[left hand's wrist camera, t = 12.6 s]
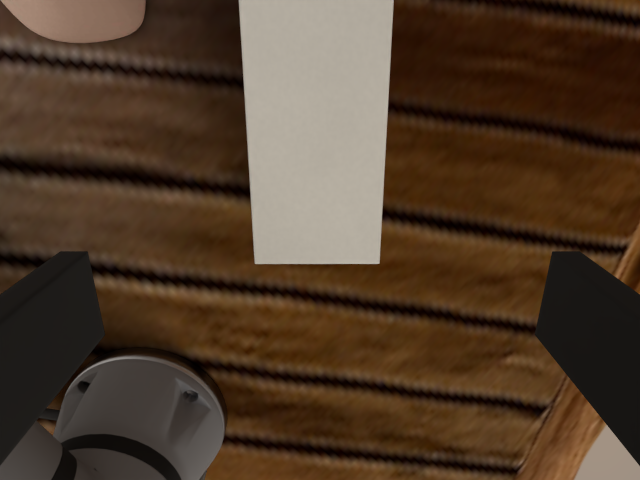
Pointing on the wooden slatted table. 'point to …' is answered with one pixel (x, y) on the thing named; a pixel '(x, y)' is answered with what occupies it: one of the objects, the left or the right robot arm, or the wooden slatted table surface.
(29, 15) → the anatomical model
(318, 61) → the thick board
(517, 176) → the wooden slatted table surface
